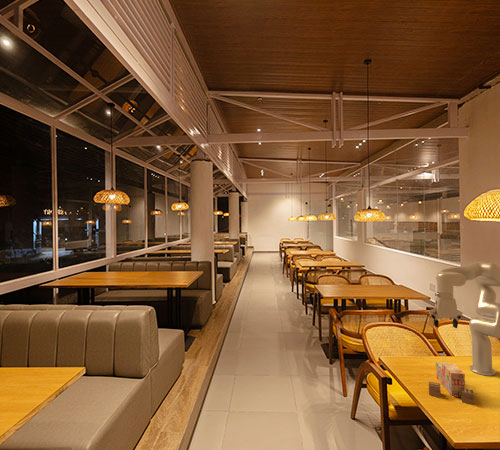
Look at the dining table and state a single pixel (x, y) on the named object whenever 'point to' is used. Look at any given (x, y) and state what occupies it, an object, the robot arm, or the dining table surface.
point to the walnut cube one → (434, 389)
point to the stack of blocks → (450, 378)
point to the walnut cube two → (467, 396)
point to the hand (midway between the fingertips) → (445, 327)
